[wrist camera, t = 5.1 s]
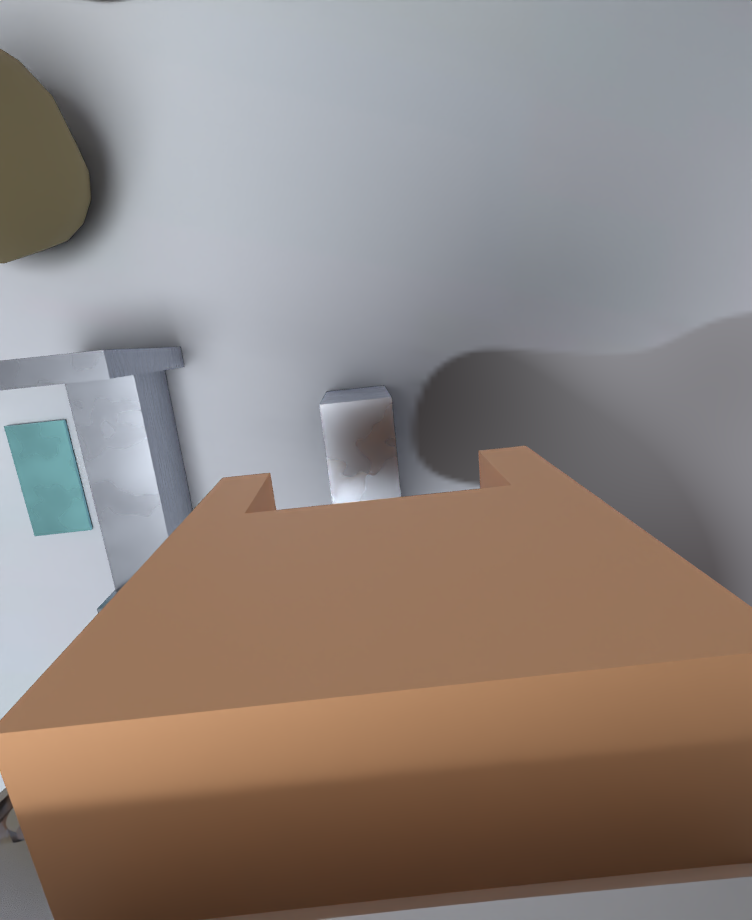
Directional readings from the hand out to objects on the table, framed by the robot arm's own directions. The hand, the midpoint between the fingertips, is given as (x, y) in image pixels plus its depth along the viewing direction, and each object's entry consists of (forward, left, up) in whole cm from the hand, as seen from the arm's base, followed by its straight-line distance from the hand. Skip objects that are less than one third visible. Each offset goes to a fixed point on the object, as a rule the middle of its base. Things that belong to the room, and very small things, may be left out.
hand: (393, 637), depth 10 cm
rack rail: (+14, +3, -17) cm, 22 cm away
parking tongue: (0, 0, -17) cm, 17 cm away
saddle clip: (0, 0, -1) cm, 1 cm away
